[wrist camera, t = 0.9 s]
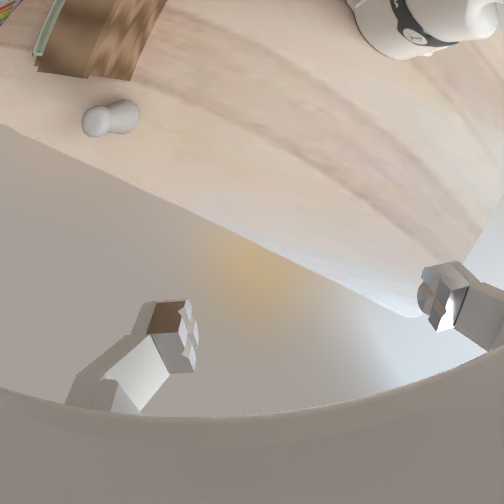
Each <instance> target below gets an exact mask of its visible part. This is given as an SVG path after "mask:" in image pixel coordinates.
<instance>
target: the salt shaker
mask: <svg viewBox="0 0 504 504" xmlns="http://www.w3.org/2000/svg"><path fill="white" fill-rule="evenodd" d="M139 119H140V111H139V109H138V107H137V105H136V104H134V103H133V102H132V101H130V100H121V101H118V102H116V103H113V104H111V105H109V106H107V107H104V106H95V107H92V108H90V109H88V110H87V111H86V112H85V114H84V115H83V118H82V129H83V131H84V133H85V134H87V135H88V136H90V137H99V136H101V135H104V134H105V133H106V132H109V133H116V134H126V133H129V132H131V131H132V130H133V129H134V128H135V127H136V126H137V124H138V122H139Z"/></svg>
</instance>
